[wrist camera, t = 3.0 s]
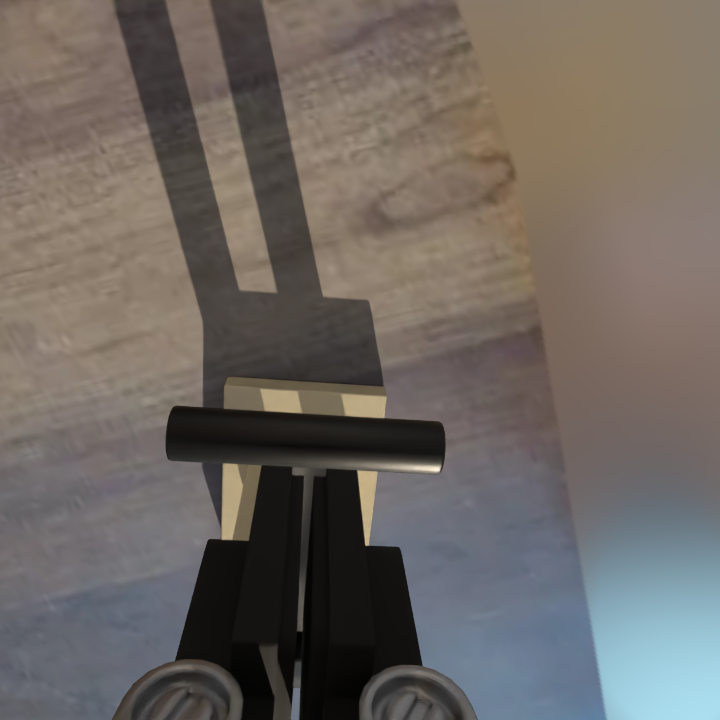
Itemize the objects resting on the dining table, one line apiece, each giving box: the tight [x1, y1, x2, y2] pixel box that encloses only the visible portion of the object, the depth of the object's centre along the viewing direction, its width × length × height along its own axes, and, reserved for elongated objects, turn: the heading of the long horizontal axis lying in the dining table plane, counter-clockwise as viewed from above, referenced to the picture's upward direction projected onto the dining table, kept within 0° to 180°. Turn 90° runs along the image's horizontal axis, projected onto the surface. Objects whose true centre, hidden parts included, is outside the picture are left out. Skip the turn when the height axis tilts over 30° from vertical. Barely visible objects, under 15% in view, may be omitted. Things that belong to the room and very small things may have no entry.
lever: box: [166, 406, 446, 688], centre depth 19 cm, size 14×6×2 cm, turn 175°
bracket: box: [221, 377, 387, 546], centre depth 27 cm, size 10×8×14 cm
